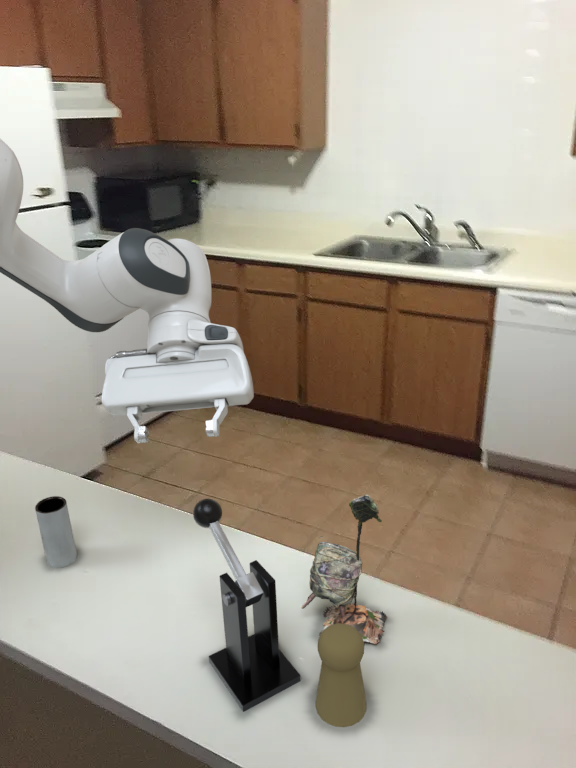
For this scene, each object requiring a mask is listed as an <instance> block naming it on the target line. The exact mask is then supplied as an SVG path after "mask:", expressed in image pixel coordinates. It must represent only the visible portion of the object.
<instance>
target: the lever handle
mask: <svg viewBox="0 0 576 768" xmlns="http://www.w3.org/2000/svg"><path fill="white" fill-rule="evenodd" d="M192 516H193V520H194V521H195V523H196V525H198V526H199V527H201V528H205V529H209V530H210V532H211V534H212V536H213V538H214V540H215V542H216V544H217V546H218V548H219V550H220V551H221V553H222V555H223V558H224V560H225V561H226V563H227V565H228V567H229V569H230V571H231V573H232V575H233V577H234V578H235V581H234V582H235V583H236V584H237V585H238V587H239V588H240V589H241V590H242V591H243V592H244V594H245V603H246V608H248V607H250V606H252V604H255V603H257V602H259V601H260V599H261V597H262V595H263V593H264V592H263V590H262V588H261V587H260V585H259V583H258V581H257V579H256V577H255V575H254V574H253V572H251V573H250V572H249V573H246V571H245V569H244V566H243V565H242V564H241V562H240V560H239V558H238V555H237V554H236V552H235V550H234V549H233V547H232V545H231V543H230V541H229V539H228V537H227V535H226V533H225V531H224V530H223V528H222V526H221V523H220V521H221V520H222V518H223V509H222V505H221V504H220V503H219V502H218V501H217V500H216V499H213V498H203V499H201V500H199V501H198V502H196V504H195V505H194V507H193V510H192Z"/></svg>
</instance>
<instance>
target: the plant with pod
mask: <svg viewBox="0 0 576 768" xmlns="http://www.w3.org/2000/svg"><path fill="white" fill-rule="evenodd" d="M348 505H349V508H350V510H351V513H352V514H353V517H354V518H355V520H357V521H358V522H357V538H356V545H355V547H356V548H355V549H356V550H352V549H351V548H349V547H347V546H345V545H341V544H339V543H338V544H337V543H331V542H328V541H321V542H318V544H317V546H316V549H315V551H314V559H313V560H312V565H311V567H310V570H309V573H310V574H309V583H308V584H309V589H310V591H311V592H312V593H310V594H309V596H308V597H307V599H306V600H305V602H304V603H303V604H302V605H301V609H302V610H304V609H305V608H307V606H309V605H310V604H311V603H312V601H313V600H314V599H315V598H320V599H322V600H328V601H329V602H331V604H333V606H332V605H331V606H325V607H326V609H324V611H323V612H322V613H323V617H324V618H327V619H326V620H325V621H324V622H323V623H322V626H323V628H322V630H321V631H320V632H319V634H318V637H320V635H321V633H322V632H323V631H324V630H325V629H326V628H327V627H328V626H330V625H333V624H338V623H341V624H347V625H351V626H352V627H354V628H355V629H356V630H357V631H358V632H359V633H360V634H361V636H362V638H363V641H364V643H365V642H366V643H370V644H373V645H377V644H378V643H379V642H381V639H382V638H383V636H382V634H383V633H385V632H386V630H384V626H386V624H385V621H387V618H388V616H387V614H386V613H385V612H384V611H383V610H382V611H380V610H372V609H371V608H368V607H367V606H366V605H362V604H357V597H358V582H359V580H360V576H361V575H362V570H363V565H364V563H363V560H362V558H361V557H360V545H361V543H360V542H361V535H362V529H363V524H364V523H366V522H368V521H369V520H373V519H375V520H376V521H377V522H378V523H382V522H383V520H382V519H381V518H380V516H379V514H380V511H379V507H378V504H376V503H375V500H374V499H373V498H372V497H371V495H369V494H364V495H361V496H357V497H355V498H353V499H352V500H351V501H349V503H348ZM319 538H320V539H322V538H323V535H320V536H319Z"/></svg>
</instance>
